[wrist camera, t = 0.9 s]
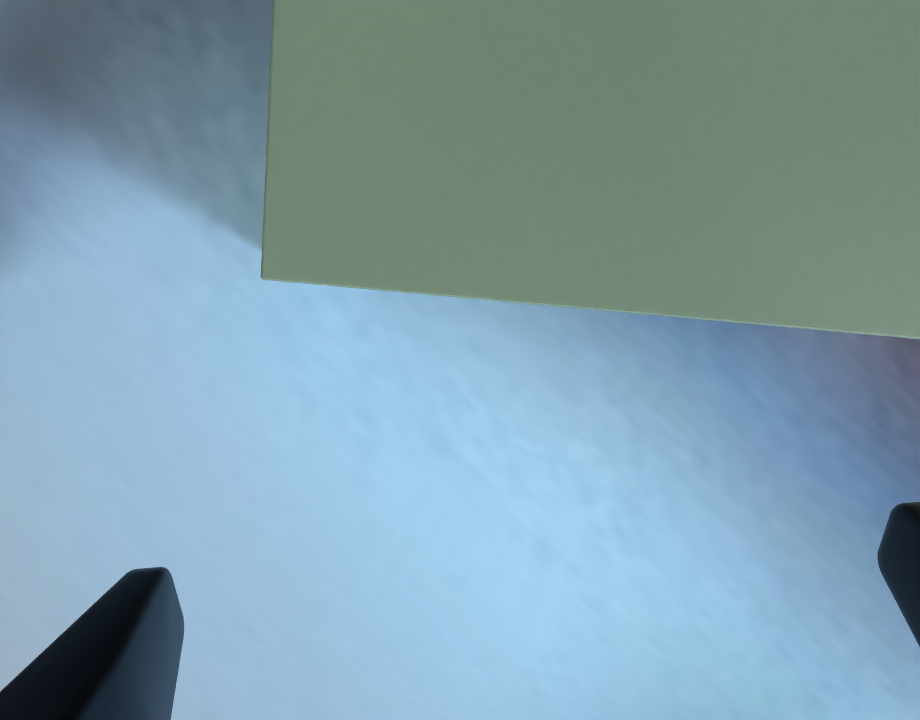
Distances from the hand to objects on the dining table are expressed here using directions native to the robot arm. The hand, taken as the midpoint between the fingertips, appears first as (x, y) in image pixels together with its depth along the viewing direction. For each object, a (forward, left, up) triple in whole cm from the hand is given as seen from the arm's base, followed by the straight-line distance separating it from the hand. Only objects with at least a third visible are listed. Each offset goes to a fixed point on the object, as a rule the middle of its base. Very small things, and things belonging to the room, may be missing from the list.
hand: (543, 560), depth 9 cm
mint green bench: (+7, -5, -13) cm, 15 cm away
